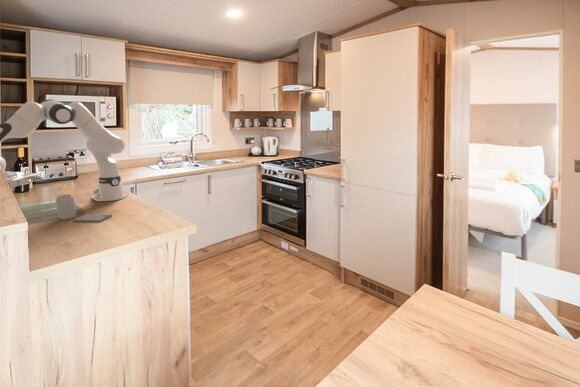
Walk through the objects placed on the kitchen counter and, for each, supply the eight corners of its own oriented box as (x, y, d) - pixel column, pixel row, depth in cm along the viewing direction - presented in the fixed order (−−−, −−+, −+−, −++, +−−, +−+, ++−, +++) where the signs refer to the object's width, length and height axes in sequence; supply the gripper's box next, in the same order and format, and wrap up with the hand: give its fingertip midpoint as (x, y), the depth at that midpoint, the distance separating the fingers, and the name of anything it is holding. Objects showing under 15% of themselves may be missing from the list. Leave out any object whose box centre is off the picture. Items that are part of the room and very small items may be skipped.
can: (59, 221, 177) (55, 197, 174) (58, 217, 183) (54, 195, 180) (77, 218, 181) (73, 195, 178) (75, 215, 187) (71, 193, 184)
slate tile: (73, 221, 175) (73, 219, 175) (86, 216, 185) (86, 214, 185) (99, 222, 174) (99, 220, 174) (112, 216, 184) (111, 214, 183)
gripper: (-10, 177, 165) (21, 176, 166) (19, 171, 185) (47, 170, 186) (-8, 190, 166) (23, 190, 167) (21, 183, 186) (49, 182, 187)
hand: (36, 179), depth 177 cm, fingers open, 8 cm apart
